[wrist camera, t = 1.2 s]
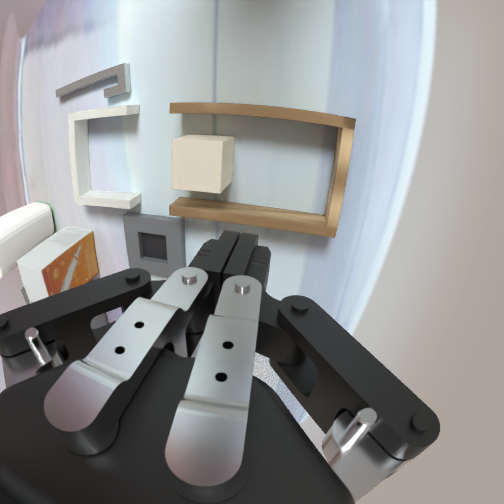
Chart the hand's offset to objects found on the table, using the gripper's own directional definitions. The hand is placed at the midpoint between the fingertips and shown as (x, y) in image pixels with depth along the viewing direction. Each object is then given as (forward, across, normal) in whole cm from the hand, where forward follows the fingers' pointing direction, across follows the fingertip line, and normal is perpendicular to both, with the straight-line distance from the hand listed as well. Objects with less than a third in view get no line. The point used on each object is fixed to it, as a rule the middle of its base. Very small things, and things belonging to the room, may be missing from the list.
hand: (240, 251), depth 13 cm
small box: (+22, +31, +16) cm, 41 cm away
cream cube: (+22, +8, 0) cm, 24 cm away
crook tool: (+22, +26, -10) cm, 36 cm away
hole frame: (+22, +16, +13) cm, 30 cm away
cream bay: (+22, +23, 0) cm, 32 cm away
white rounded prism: (+22, +40, +11) cm, 47 cm away
